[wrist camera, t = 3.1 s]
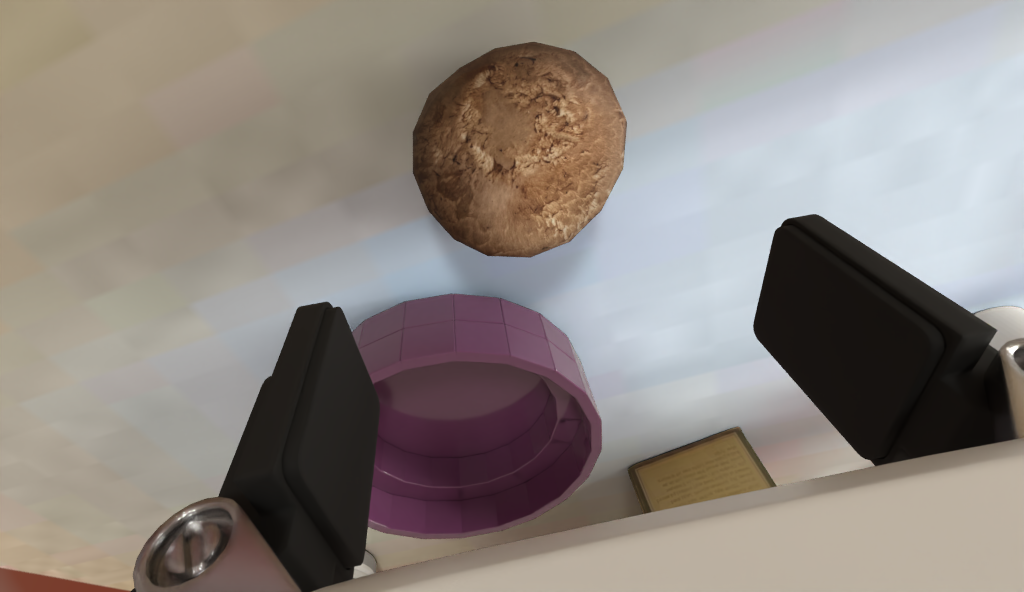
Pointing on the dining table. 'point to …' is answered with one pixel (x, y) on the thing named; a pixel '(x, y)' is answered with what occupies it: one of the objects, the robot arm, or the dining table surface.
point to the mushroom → (519, 149)
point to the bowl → (474, 416)
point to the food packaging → (699, 473)
